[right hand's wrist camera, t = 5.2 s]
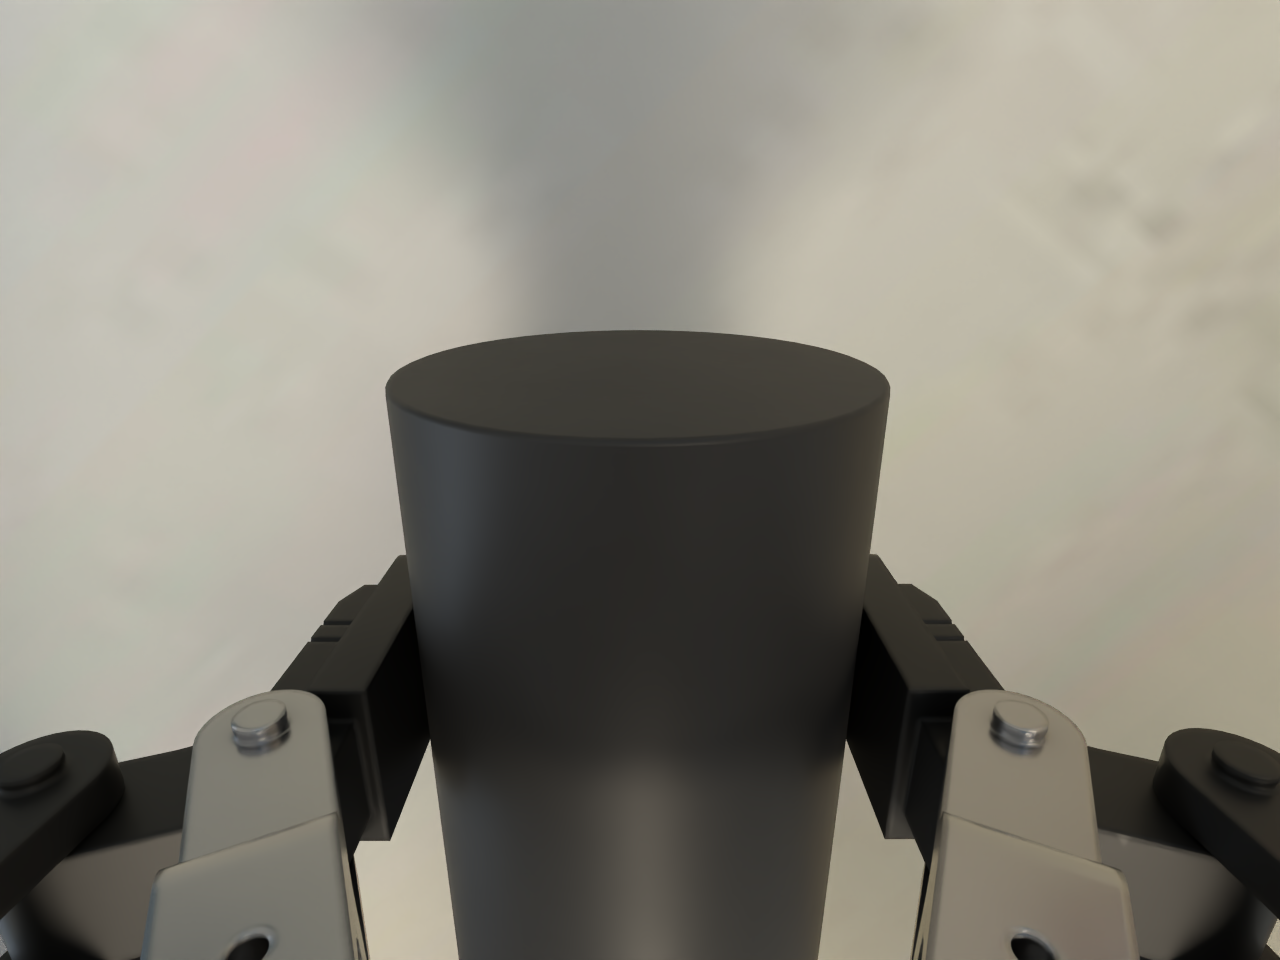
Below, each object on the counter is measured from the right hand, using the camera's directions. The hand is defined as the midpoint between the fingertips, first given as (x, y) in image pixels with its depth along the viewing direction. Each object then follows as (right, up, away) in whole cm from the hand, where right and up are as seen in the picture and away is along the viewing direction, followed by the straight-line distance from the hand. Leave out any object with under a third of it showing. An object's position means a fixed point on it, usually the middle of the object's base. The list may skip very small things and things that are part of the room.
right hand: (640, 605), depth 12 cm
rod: (0, -8, +5) cm, 10 cm away
